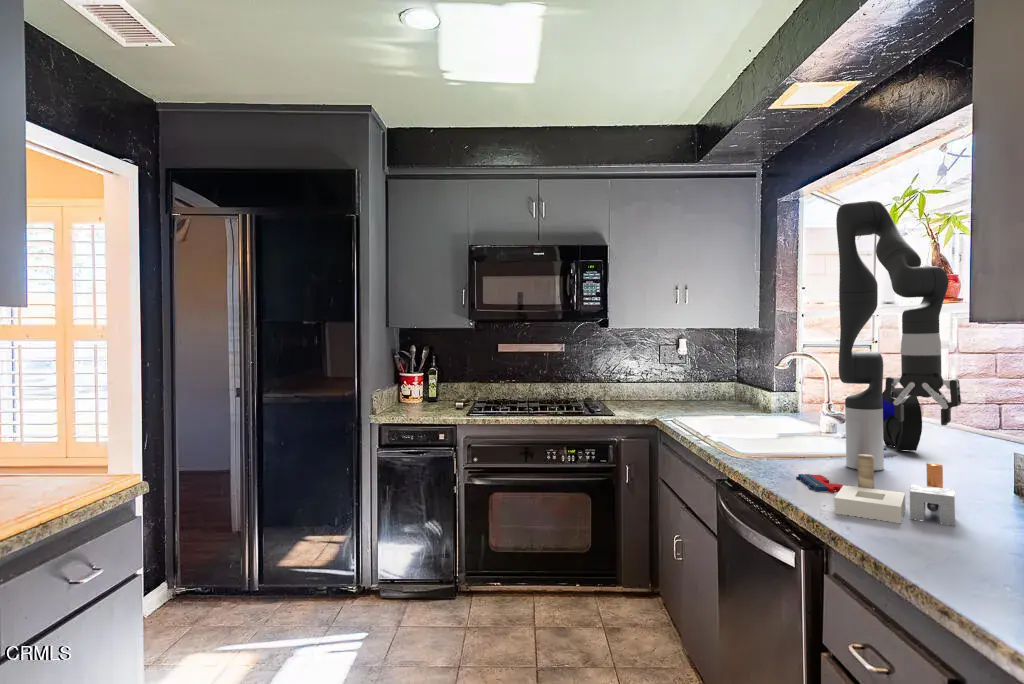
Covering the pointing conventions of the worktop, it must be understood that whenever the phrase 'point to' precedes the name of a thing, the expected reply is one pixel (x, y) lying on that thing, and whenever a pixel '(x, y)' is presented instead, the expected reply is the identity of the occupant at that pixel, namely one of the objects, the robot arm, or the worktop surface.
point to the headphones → (902, 423)
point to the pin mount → (934, 496)
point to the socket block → (870, 503)
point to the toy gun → (818, 483)
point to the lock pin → (934, 481)
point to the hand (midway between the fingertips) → (921, 422)
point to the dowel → (866, 471)
